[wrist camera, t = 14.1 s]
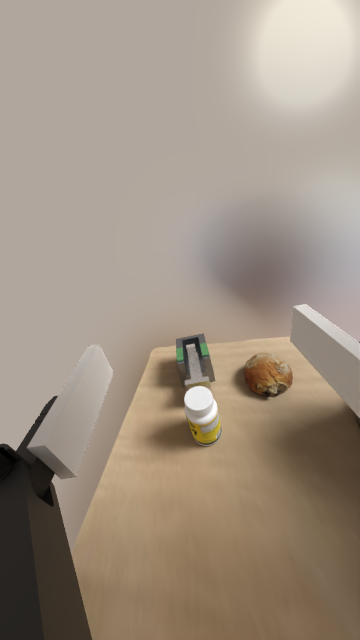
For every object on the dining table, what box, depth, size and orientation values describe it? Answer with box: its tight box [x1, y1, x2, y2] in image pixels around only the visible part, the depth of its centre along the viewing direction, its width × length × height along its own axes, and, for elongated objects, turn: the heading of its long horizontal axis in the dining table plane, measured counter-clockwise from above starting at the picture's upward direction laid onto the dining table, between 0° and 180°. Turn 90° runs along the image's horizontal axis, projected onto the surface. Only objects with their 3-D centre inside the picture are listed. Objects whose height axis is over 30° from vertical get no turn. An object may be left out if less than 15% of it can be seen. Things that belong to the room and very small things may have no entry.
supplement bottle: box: [184, 386, 222, 446], centre depth 35 cm, size 6×6×10 cm
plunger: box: [185, 344, 212, 393], centre depth 45 cm, size 10×5×9 cm, turn 3°
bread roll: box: [245, 353, 293, 397], centre depth 44 cm, size 10×10×8 cm
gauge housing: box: [176, 334, 215, 387], centre depth 51 cm, size 10×8×8 cm
